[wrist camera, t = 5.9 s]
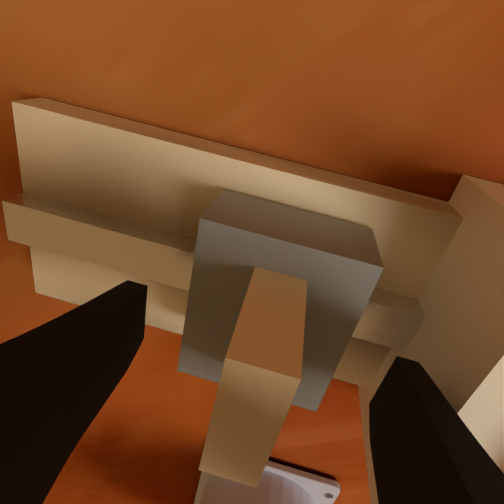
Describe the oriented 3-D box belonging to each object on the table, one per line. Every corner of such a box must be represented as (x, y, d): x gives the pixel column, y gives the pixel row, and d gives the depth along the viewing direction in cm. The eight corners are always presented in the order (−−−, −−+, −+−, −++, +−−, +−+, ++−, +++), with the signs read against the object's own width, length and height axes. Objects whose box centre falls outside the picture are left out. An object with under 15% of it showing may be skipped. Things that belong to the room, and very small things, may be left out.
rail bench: (364, 362, 16) (368, 388, 15) (57, 274, 17) (35, 292, 16) (448, 201, 12) (463, 218, 11) (43, 97, 13) (11, 101, 12)
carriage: (316, 358, 14) (314, 528, 9) (198, 324, 15) (130, 471, 9) (372, 228, 11) (414, 369, 6) (222, 188, 12) (141, 292, 6)
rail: (399, 332, 13) (404, 351, 12) (27, 228, 14) (8, 240, 13) (418, 299, 12) (425, 317, 12) (23, 191, 13) (1, 200, 12)
